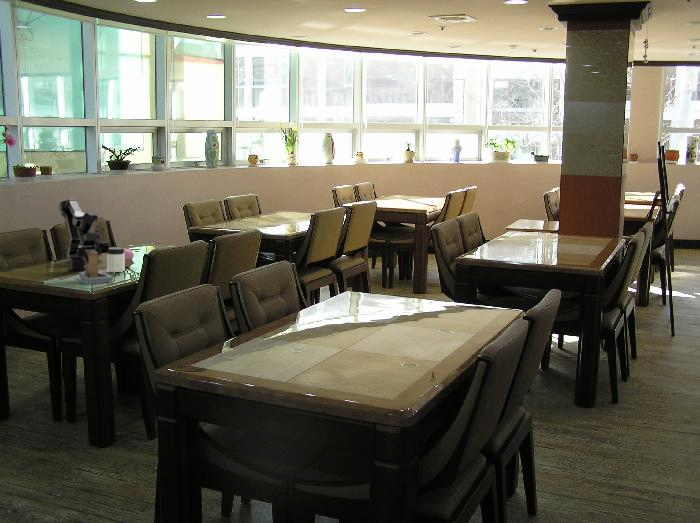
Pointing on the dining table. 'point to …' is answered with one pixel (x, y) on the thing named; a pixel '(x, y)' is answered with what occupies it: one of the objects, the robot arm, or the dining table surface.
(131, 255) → the cupcake
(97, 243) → the ceramic pitcher
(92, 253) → the tan tall block
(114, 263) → the jar
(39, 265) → the dining table surface
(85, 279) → the grey shallow tray
